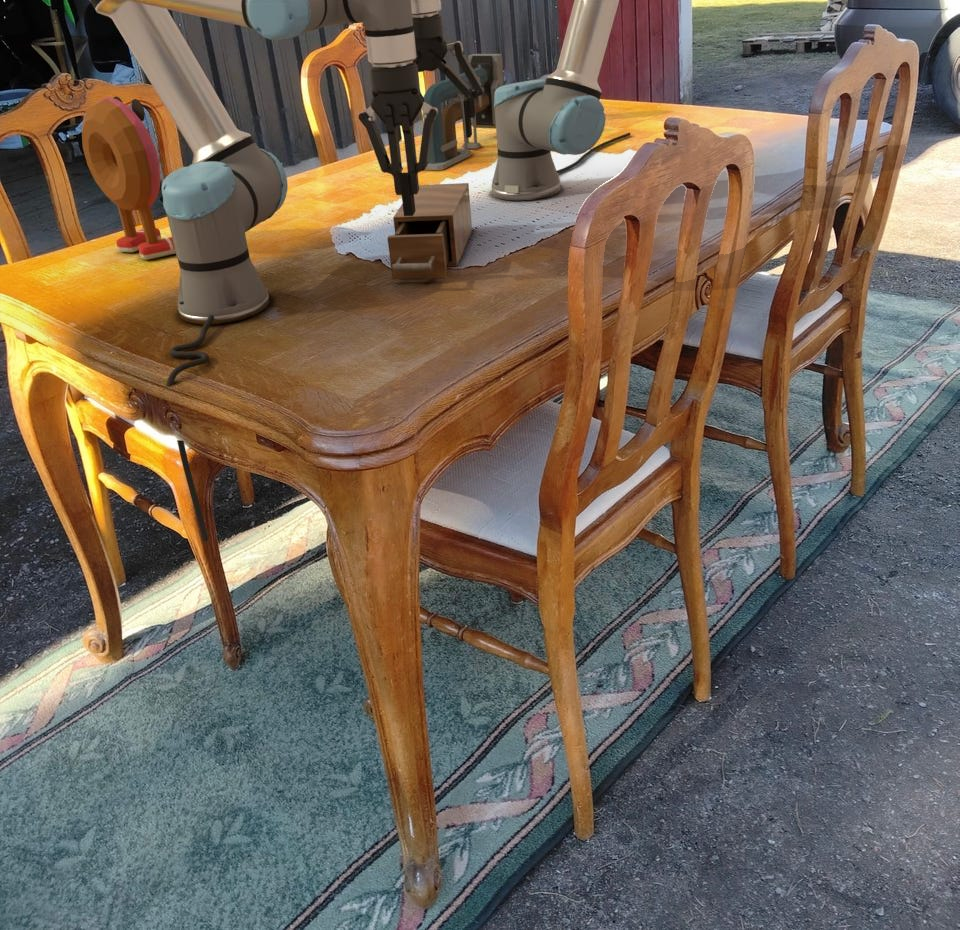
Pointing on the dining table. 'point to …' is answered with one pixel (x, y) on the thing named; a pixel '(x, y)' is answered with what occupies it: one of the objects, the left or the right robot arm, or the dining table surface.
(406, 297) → the dining table surface
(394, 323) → the dining table surface
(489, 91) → the clamp
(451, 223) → the cabinet
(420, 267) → the drawer
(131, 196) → the toy
